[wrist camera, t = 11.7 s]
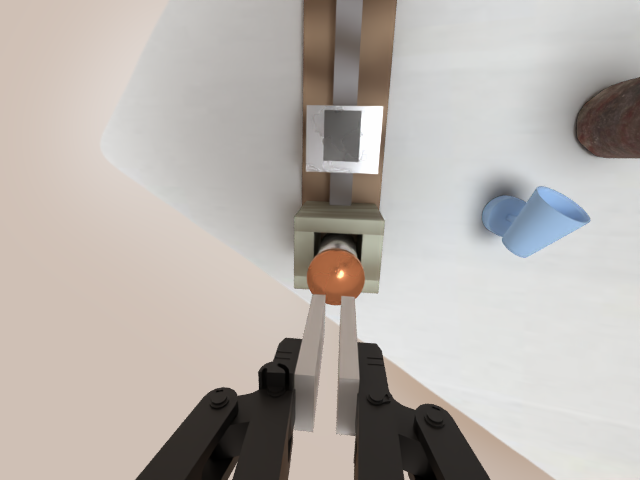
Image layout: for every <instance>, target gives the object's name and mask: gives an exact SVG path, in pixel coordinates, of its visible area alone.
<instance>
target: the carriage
mask: <svg viewBox="0 0 640 480" xmlns="http://www.w3.org/2000/svg"><path fill="white" fill-rule="evenodd" d="M382 115H383V106H327V105H307V121H306V171H307V172H338V173H368V174H378V165H379V153H380V140H381V128H382Z"/></svg>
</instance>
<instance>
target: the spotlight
mask: <svg viewBox="0 0 640 480" xmlns="http://www.w3.org/2000/svg"><path fill="white" fill-rule="evenodd" d="M482 221H483V224H484V226H485V227H486V228H487V229H488V230H489V231H491V232H493V233H495V234H496V235H498V236H502V237H503V238H502V242H503V244H504V245H505V247H506V248H507V249H508V250H509V251H511V252H512V253H514V254H515V255H517V256H519V257H523V258H526V257H528V256H530V255H532V254H534V253H535V252H537V251H539V250H541V249H543V248H544V247H546V246H548V245H550V244H552V243H553V242H555V241H557V240H559V239H561V238H562V237H564V236H566V235H568V234H570V233H571V232H573V231H575V230H577V229H579V228H580V227H582V226H584V225H586V224H587V223H589V222H590V217H589V216H588V214H587V213H586V212H585V211H584V210H583V209H582V208H581V207H580V206H579V205H578V204H576V203H575V202H574V201H572V200H571V199H569V198H568V197H566V196H565V195H563V194H561V193H559V192H557V191H555V190H553V189H550V188H547V187H542V186H539V187H537V188H536V190H535V191H534V193H533V194H532V196H531V197H530V199H529V200H528V201H527V203H526V202H524V201H523V200H521V199H519V198H515V197H512V196H499V197H496V198H494V199H492V200H491V201H490V202H489V203H488V204H487V205H486V206H485V208H484V210H483V213H482Z"/></svg>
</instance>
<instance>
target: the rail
mask: <svg viewBox="0 0 640 480" xmlns="http://www.w3.org/2000/svg"><path fill="white" fill-rule="evenodd" d="M396 4H397V0H304V50H303V165H302V207H301V209H300V210H299V211H298V213H297V214H296V215H295V217H294V288H296V289H309V287H308V284H307V272H308V268H309V265H310V263H311V261H312V260H313V258H314V257H315V256H316V255H317V254H318V251H319V247H320V243H321V240H322V238H323V237H324V236H325V235H326V234H327V233H344V234H350V235H351V236H352V237H353V238H354V240H355V243H356V250H357V258H358V259H359V260H360V262H361V264H362V266H363V269H364V275H365V283H364V287H363V289H362V291H361V292H362V293H378V290H379V279H380V268H381V257H382V246H383V235H384V224H385V221H384V219H383V217H382V215H381V213H380V211H379V206H380V194H381V182H382V170H383V159H384V147H385V135H386V123H387V111H388V99H389V87H390V75H391V64H392V52H393V40H394V28H395V16H396ZM307 105H327V106H383V115H382V128H381V140H380V153H379V165H378V174H368V173H338V172H307V171H306V121H307Z"/></svg>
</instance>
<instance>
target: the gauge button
mask: <svg viewBox="0 0 640 480" xmlns="http://www.w3.org/2000/svg"><path fill="white" fill-rule="evenodd" d="M364 283H365V275H364V269H363V266H362V264H361V262H360V260H359V259H358V258H357V250H356V243H355V240H354V238H353V237H352V236H351V235H350V234H344V233H327V234H326V235H325V236H324V237H323V238H322V240H321V243H320V247H319V251H318V254H317V255H316V256H315V257H314V258H313V260H312V261H311V263H310V265H309V268H308V272H307V284H308V287H309V289H310V291H311V293H312V294H317V295H326V298H325V303H326V304H330V305H341V296H350V297H355V298H357V297H358V296H359V294H360V293H361V291H362V289H363V287H364Z"/></svg>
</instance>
